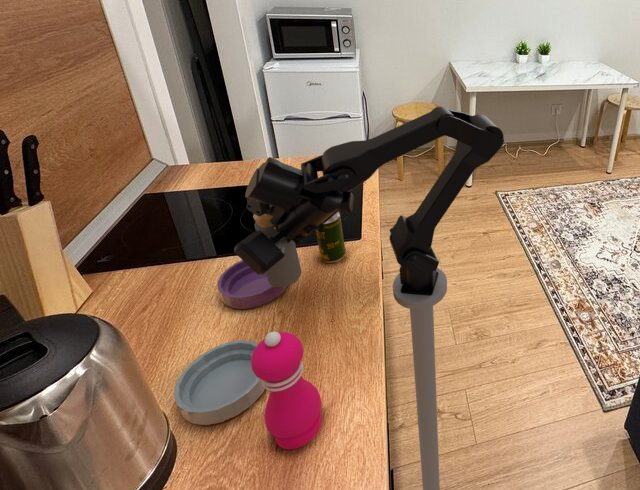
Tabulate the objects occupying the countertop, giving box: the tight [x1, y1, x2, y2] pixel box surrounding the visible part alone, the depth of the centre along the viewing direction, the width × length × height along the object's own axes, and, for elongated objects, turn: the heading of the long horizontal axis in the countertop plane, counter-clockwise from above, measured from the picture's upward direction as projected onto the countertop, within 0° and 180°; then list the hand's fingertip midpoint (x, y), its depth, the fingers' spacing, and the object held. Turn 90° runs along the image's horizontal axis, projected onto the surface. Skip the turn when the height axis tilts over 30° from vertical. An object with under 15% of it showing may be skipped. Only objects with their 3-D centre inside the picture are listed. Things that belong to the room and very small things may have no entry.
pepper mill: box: [251, 331, 322, 451], centre depth 57 cm, size 7×7×20 cm
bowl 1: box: [216, 259, 289, 310], centre depth 84 cm, size 12×12×4 cm
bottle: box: [252, 213, 302, 287], centre depth 77 cm, size 6×6×15 cm
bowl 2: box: [173, 339, 266, 426], centre depth 66 cm, size 12×12×4 cm
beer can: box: [314, 211, 347, 264], centre depth 92 cm, size 5×5×12 cm
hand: (271, 246), depth 78 cm, fingers closed on bottle, 6 cm apart
